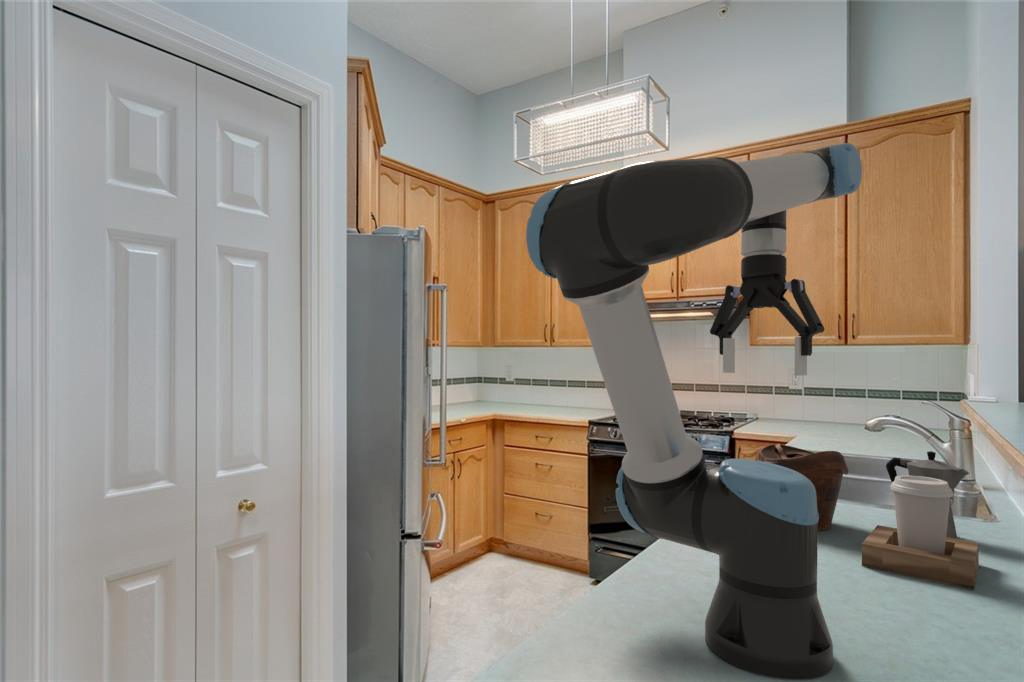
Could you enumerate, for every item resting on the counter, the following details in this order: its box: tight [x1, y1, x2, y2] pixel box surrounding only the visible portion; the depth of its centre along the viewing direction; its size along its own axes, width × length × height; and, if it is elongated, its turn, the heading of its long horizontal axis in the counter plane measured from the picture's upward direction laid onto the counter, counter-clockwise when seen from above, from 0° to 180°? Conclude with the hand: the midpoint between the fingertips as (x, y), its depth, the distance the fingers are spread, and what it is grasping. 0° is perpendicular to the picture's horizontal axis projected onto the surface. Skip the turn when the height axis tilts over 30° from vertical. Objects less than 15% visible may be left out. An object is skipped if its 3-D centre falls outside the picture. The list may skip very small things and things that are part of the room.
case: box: [754, 442, 850, 531], centre depth 133 cm, size 18×20×18 cm
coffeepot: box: [885, 450, 970, 539], centre depth 126 cm, size 15×9×18 cm, turn 35°
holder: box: [861, 524, 979, 591], centre depth 106 cm, size 16×16×4 cm
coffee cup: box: [889, 474, 954, 555], centre depth 106 cm, size 10×10×15 cm
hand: (762, 374), depth 104 cm, fingers open, 13 cm apart
